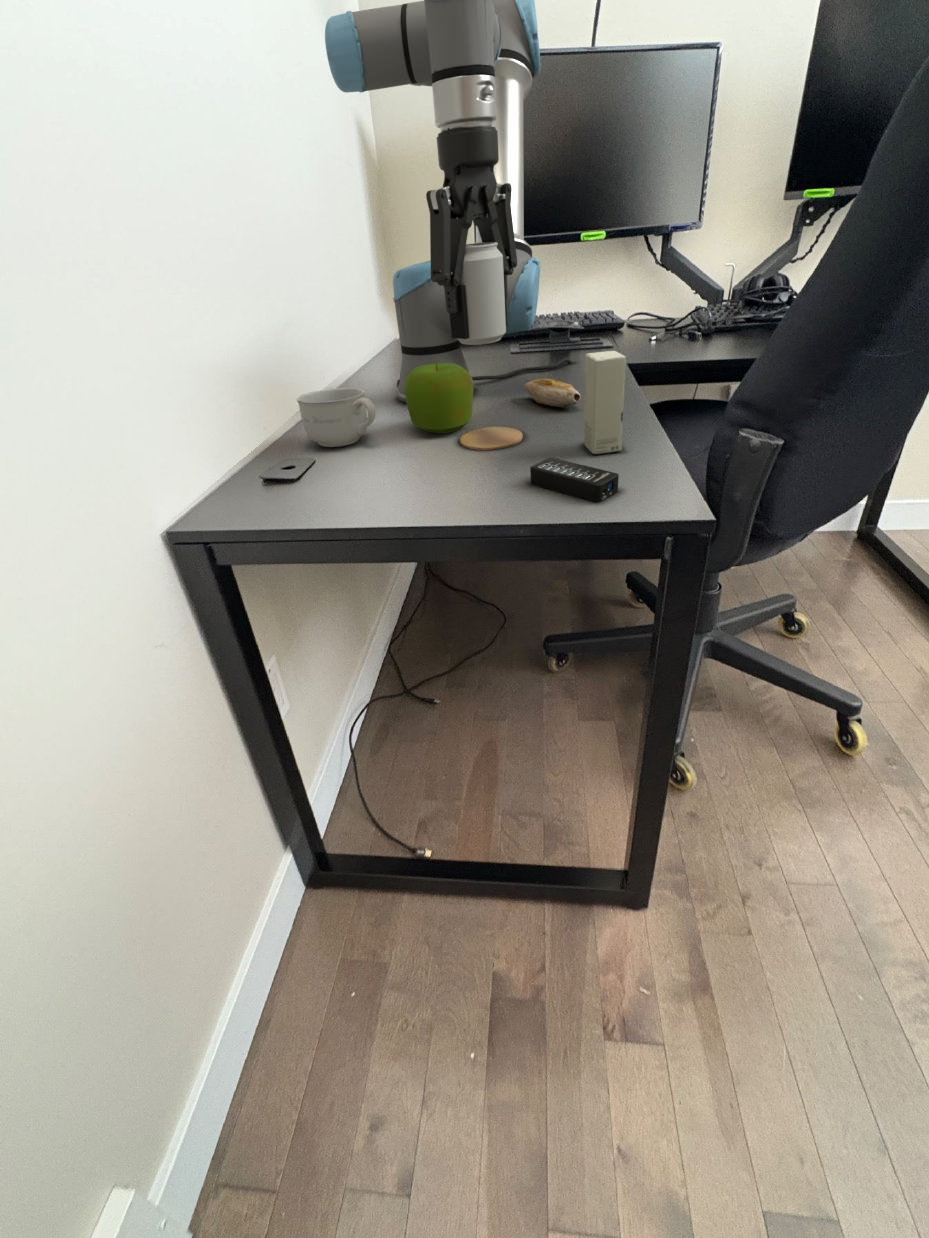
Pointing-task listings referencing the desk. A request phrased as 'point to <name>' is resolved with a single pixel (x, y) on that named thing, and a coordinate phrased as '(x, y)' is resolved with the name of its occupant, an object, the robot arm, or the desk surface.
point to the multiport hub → (574, 479)
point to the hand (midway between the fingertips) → (479, 332)
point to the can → (484, 293)
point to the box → (604, 401)
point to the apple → (439, 397)
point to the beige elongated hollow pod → (552, 392)
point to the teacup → (336, 415)
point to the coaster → (491, 438)
